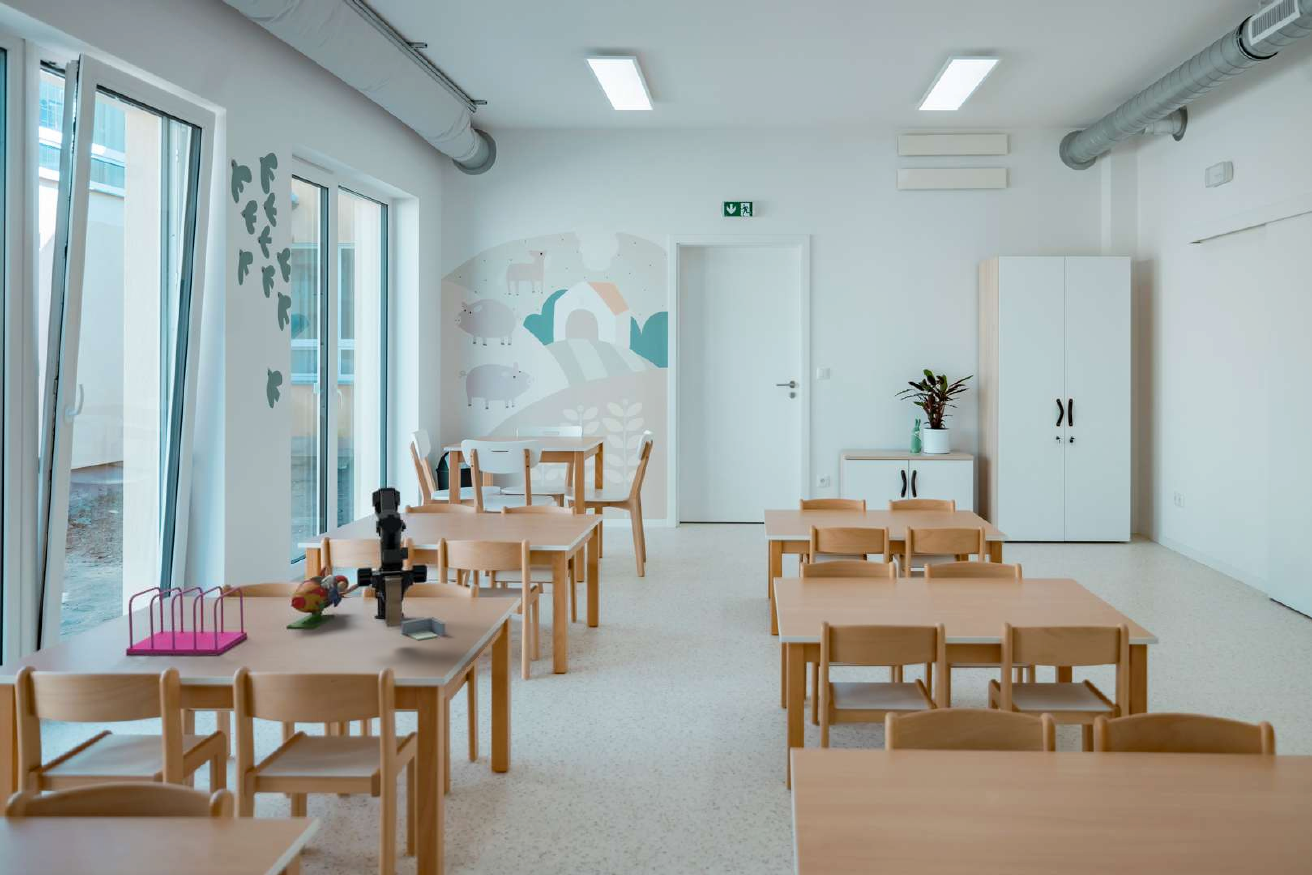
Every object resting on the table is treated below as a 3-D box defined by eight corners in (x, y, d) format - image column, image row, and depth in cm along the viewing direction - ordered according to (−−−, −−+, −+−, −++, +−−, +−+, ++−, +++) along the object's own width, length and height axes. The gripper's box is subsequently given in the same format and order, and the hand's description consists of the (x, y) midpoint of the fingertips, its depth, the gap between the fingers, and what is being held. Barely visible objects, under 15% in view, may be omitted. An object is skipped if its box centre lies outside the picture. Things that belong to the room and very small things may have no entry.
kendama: (331, 607, 316) (356, 587, 333) (326, 588, 315) (351, 570, 332) (309, 610, 317) (335, 590, 335) (304, 592, 316) (331, 573, 334)
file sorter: (160, 637, 275) (158, 583, 274) (247, 637, 274) (246, 583, 273) (125, 655, 257) (123, 597, 256) (218, 655, 257) (216, 597, 256)
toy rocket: (272, 631, 280) (271, 579, 279) (314, 610, 305) (313, 562, 304) (318, 633, 278) (317, 580, 277) (357, 612, 303) (356, 564, 302)
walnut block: (386, 622, 268) (385, 576, 267) (400, 621, 269) (400, 575, 268) (386, 627, 263) (385, 579, 262) (401, 626, 264) (401, 578, 263)
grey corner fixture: (401, 633, 277) (401, 621, 277) (433, 628, 283) (433, 616, 282) (413, 640, 270) (412, 628, 270) (445, 635, 275) (445, 623, 275)
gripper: (356, 539, 265) (357, 587, 255) (426, 535, 271) (430, 582, 261) (356, 562, 273) (358, 609, 263) (424, 558, 279) (428, 604, 269)
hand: (393, 601), depth 264 cm, fingers closed on walnut block, 4 cm apart
